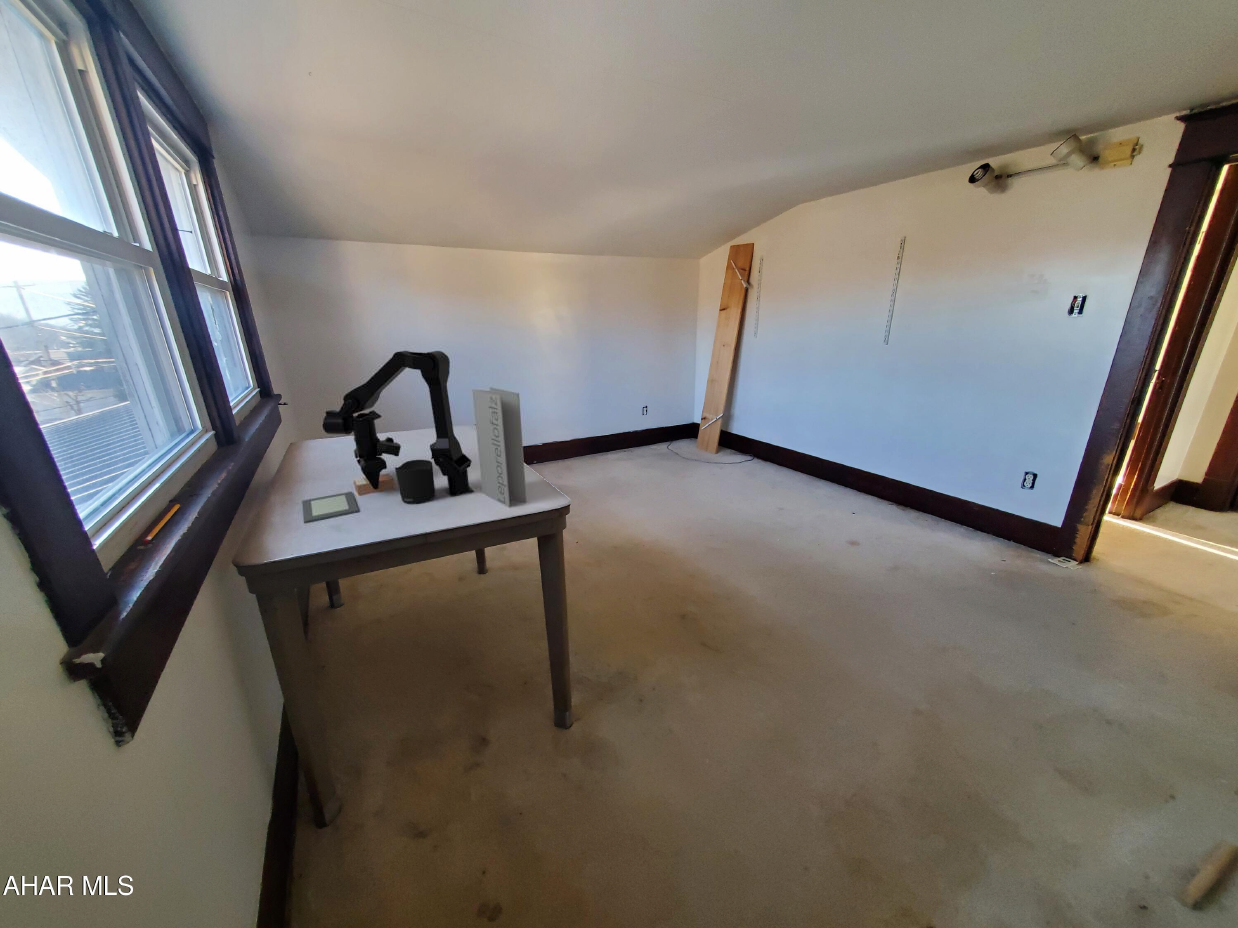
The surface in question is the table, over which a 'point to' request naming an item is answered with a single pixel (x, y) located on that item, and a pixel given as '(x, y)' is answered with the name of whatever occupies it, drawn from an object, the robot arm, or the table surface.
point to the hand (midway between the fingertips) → (374, 485)
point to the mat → (329, 507)
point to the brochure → (500, 444)
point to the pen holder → (416, 481)
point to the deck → (365, 487)
